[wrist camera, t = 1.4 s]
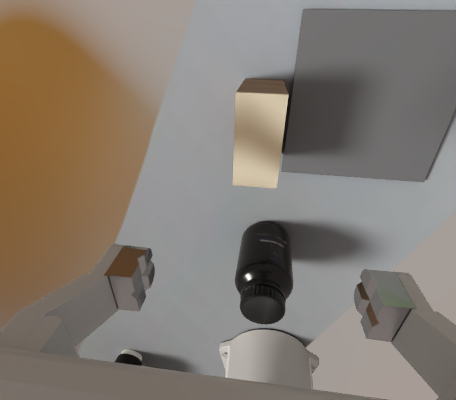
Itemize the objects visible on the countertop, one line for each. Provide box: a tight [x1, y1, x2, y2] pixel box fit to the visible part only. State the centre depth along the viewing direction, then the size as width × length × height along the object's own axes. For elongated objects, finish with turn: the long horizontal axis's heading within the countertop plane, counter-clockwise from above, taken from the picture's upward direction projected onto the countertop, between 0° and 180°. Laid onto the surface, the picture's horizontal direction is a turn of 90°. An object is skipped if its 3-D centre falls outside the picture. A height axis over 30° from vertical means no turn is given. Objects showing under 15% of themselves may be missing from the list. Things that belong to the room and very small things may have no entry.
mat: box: [282, 9, 456, 182], centre depth 28 cm, size 16×16×1 cm
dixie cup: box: [115, 350, 142, 366], centre depth 55 cm, size 8×8×11 cm
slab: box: [233, 79, 289, 188], centre depth 26 cm, size 8×4×9 cm, turn 179°
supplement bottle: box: [235, 222, 293, 324], centre depth 34 cm, size 7×7×12 cm
